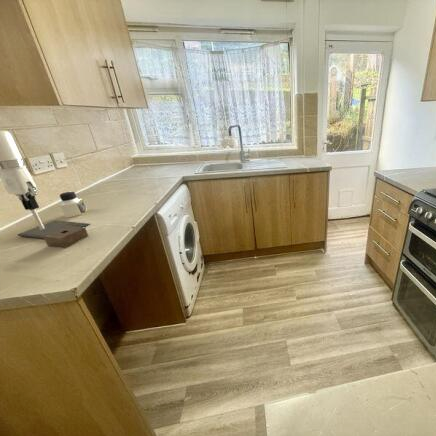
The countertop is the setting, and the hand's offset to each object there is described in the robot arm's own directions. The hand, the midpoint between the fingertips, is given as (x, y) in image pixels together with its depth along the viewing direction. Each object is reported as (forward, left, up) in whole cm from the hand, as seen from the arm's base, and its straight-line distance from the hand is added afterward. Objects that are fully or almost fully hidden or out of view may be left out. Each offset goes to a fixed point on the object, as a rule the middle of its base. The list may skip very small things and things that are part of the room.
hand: (32, 208), depth 101 cm
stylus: (0, 0, -10) cm, 10 cm away
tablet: (+4, 0, -13) cm, 13 cm away
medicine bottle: (+21, +10, -12) cm, 27 cm away
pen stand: (-3, -17, -12) cm, 21 cm away
